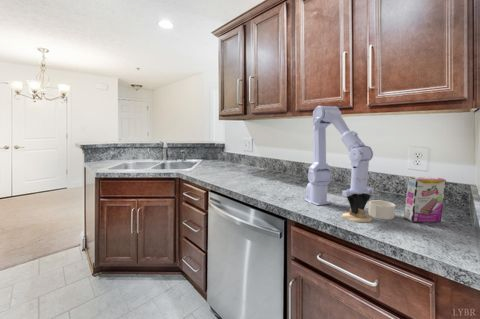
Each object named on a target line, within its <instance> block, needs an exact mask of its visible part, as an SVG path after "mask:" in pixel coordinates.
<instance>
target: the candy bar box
mask: <svg viewBox="0 0 480 319" xmlns="http://www.w3.org/2000/svg"><path fill="white" fill-rule="evenodd" d="M446 183H447V180H446V179H445V178H441V177H436V176H408V177H407V185H406V186H407V187H406V196H405V205H404V213H403V214H404V216H403V219H405V220H407V221H408V222H411V223H442V215H443V209H444V208H443V206H444V198H445V193H446V191H445V190H446Z"/></svg>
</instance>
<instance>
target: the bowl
mask: <svg viewBox="0 0 480 319" xmlns="http://www.w3.org/2000/svg"><path fill="white" fill-rule="evenodd" d="M395 212H396V204H395V203H393V202H390V201H387V200H380V199H378V200H376V199H372V200H368V206H367V215H369V216H371V217H372V218H374V219H380V220H394V218H395V216H396V215H395V214H396V213H395Z"/></svg>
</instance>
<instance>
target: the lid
mask: <svg viewBox="0 0 480 319" xmlns="http://www.w3.org/2000/svg"><path fill="white" fill-rule="evenodd" d="M342 218H343V219H344V218H345V219H344V220H347V221H348V222H349V221H350V222H353V223H358V224H359V223H360V224H364V223H365V224H366V223H371V222H372V220H373V217H372V216H370V215H369V214H368V213H367V214H366V210H365V209H364V210H362V209H359V208H358V213H357V214H354V213H352V212H351V207H349V211H345V212H343V213H342Z"/></svg>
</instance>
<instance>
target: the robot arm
mask: <svg viewBox="0 0 480 319" xmlns="http://www.w3.org/2000/svg"><path fill="white" fill-rule="evenodd" d="M312 123H313V124H312V135H313V141H312V142H313V143H312V144H313V163H312V164H311V165H310V166H308V172H307V180H308V183H307V184H306V188H305V189H306V190H305V194H306V195H305V198H304V201H306V202H309V203H310V204H313V205H315V206H322V205H329V204H331V203H332V202H331V201H328V187H329V186H328V185H329V184H330V182H331V181H332V179H333V173H332V172H331V166H330V165H329V164H328V163H327V142H326V141H327V139H326V138H327V137H326V136H327V134H326V133H327V132H326V130H327V128H328V126H330V125H331V124H332V125H333V126H334V128H335V129H336V130H337V131H338V132H339V134H340V135H341V142H342V143H343V145H344V146H345V148H346V149H347V151H348V152H349V153H348V158H349V160H350V165H351V173H350V174H351V176H350V188H346V189H345V190H341V191H342V194H341V195H342V197H346V198H347V201H348V203H349V208H351V212H352V213H354V214H357V213H358V208H359V209H362V210H365V208H366V205H367V203H368V202H369V201H370V198H371V195H370V194H374V193H375V187H368V182H369V181H368V179H369V165H370V161H371V160H372V159H373V157H374V151H373V149H372V148H371V146H369V145H366V144H365V143H364V142H363V141H362V140H361V138H360V137H359V136H358V135H359V134H358V133H357V132H356V131H354V130H350V128H349V127H348V125H347V123H346V121H345V120H344V117H343V116H342V111H341V110H340V108H339V107H338V106H335V105H334V106H327V105H317V106H316V107H315V108H314V110H313V111H312Z"/></svg>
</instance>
